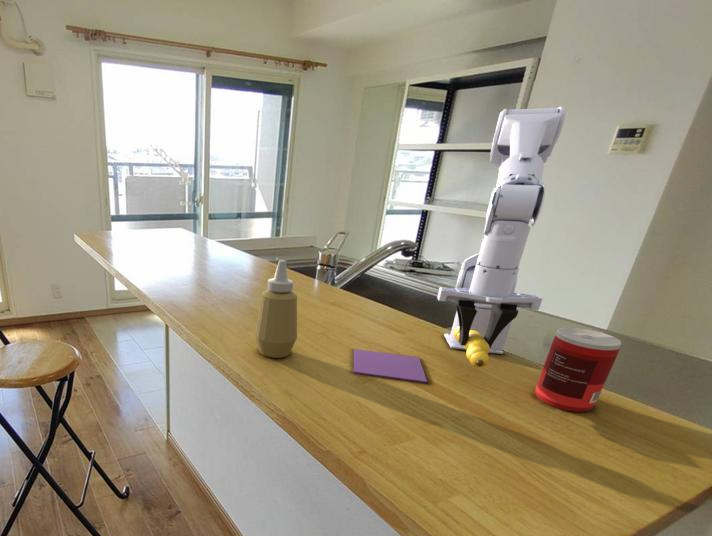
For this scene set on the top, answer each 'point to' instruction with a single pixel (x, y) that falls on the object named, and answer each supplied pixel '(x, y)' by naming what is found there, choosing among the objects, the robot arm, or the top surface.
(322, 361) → the top surface
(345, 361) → the top surface
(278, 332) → the squeeze bottle
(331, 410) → the top surface
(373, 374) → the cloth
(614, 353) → the canned food
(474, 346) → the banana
